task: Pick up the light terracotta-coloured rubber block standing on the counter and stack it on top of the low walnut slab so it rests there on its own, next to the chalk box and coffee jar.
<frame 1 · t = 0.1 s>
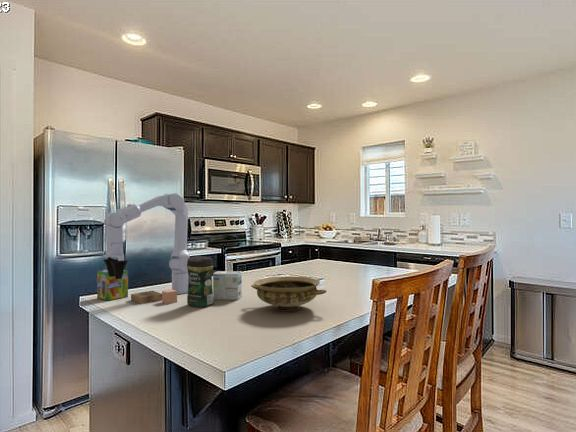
hand: (115, 277, 143), 10 cm above the table, tool pointing down, fingers open, 7 cm apart
coffee jar: (200, 305, 139), on the table
chalk box: (112, 298, 153), on the table
ceramic bowl: (287, 309, 132), on the table
light bulb box: (227, 298, 150), on the table
terracotta block: (169, 302, 144), on the table
walnut slab: (146, 301, 148), on the table
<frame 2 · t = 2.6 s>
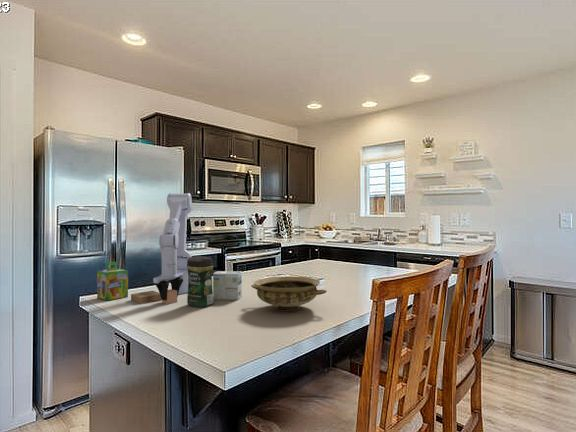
hand: (169, 298, 144), 1 cm above the table, tool pointing down, fingers closed on terracotta block, 5 cm apart
terracotta block: (169, 302, 144), on the table, touching gripper
everything else where it was.
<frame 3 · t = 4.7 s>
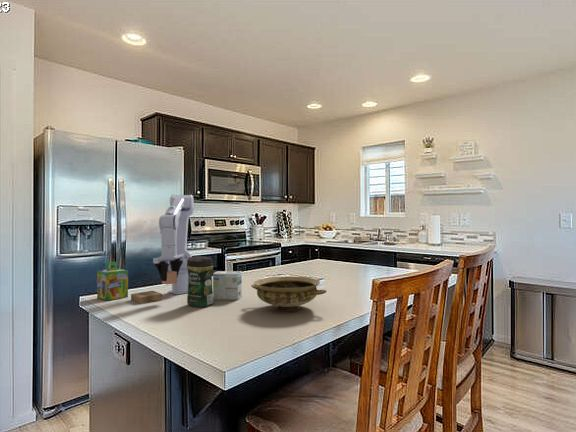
hand: (169, 279, 144), 9 cm above the table, tool pointing down, fingers closed on terracotta block, 5 cm apart
terracotta block: (169, 283, 144), point 7 cm above the table, touching gripper
everything else where it was.
when the fingers open (5 cm above the table, at t = 7.0 s): terracotta block drops 1 cm, resting on walnut slab.
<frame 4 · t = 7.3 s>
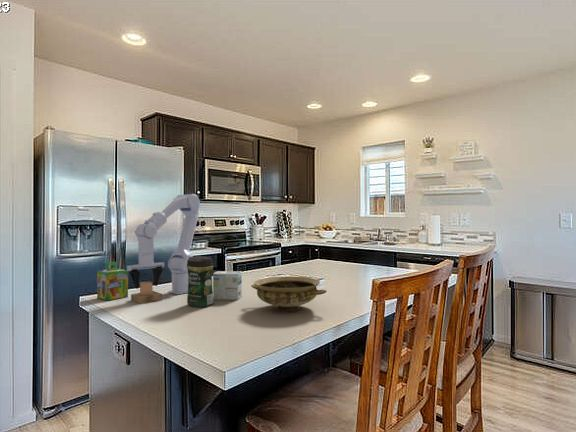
hand: (146, 286, 148), 5 cm above the table, tool pointing down, fingers open, 7 cm apart
terracotta block: (146, 293, 148), point 3 cm above the table, touching walnut slab
walnut slab: (146, 301, 148), on the table, touching terracotta block
everything else where it was.
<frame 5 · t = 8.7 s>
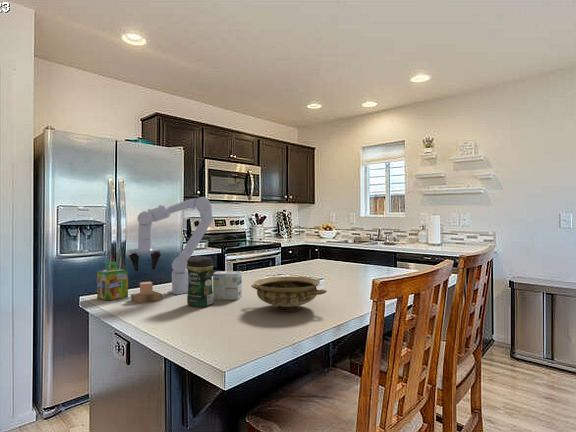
hand: (145, 270, 159), 10 cm above the table, tool pointing down, fingers open, 7 cm apart
nothing on the table moved.
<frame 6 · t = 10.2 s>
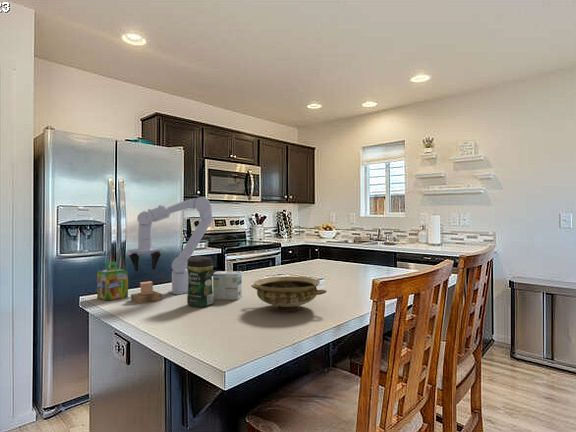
hand: (145, 270, 160), 10 cm above the table, tool pointing down, fingers open, 7 cm apart
nothing on the table moved.
at the end: terracotta block inside the target area on the walnut slab (0.2 cm from its centre), point 3.1 cm above the walnut slab's base; terracotta block tilted 3°; the gripper is holding nothing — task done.
